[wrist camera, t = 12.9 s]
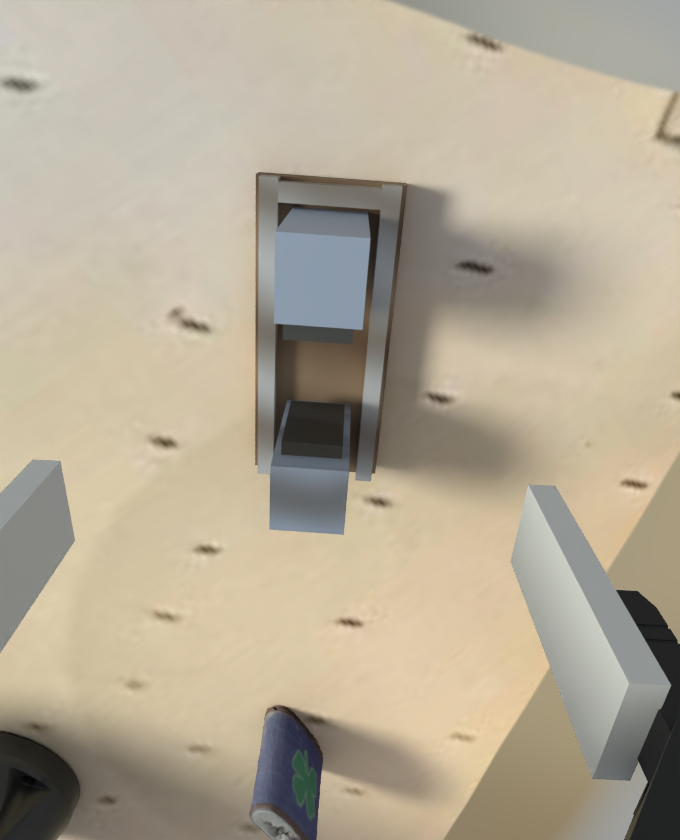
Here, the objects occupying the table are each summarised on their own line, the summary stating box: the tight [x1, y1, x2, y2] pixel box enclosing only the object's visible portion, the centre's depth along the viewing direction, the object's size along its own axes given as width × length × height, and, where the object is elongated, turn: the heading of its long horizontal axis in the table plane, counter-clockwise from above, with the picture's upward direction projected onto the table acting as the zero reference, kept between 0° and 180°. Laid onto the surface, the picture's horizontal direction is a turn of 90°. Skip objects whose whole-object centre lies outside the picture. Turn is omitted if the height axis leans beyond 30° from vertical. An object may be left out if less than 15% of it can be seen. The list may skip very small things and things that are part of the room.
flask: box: [250, 705, 323, 840], centre depth 49 cm, size 9×3×11 cm, turn 23°
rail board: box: [255, 172, 407, 535], centre depth 32 cm, size 18×8×9 cm, turn 176°
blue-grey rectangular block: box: [274, 206, 371, 344], centre depth 29 cm, size 4×5×8 cm
